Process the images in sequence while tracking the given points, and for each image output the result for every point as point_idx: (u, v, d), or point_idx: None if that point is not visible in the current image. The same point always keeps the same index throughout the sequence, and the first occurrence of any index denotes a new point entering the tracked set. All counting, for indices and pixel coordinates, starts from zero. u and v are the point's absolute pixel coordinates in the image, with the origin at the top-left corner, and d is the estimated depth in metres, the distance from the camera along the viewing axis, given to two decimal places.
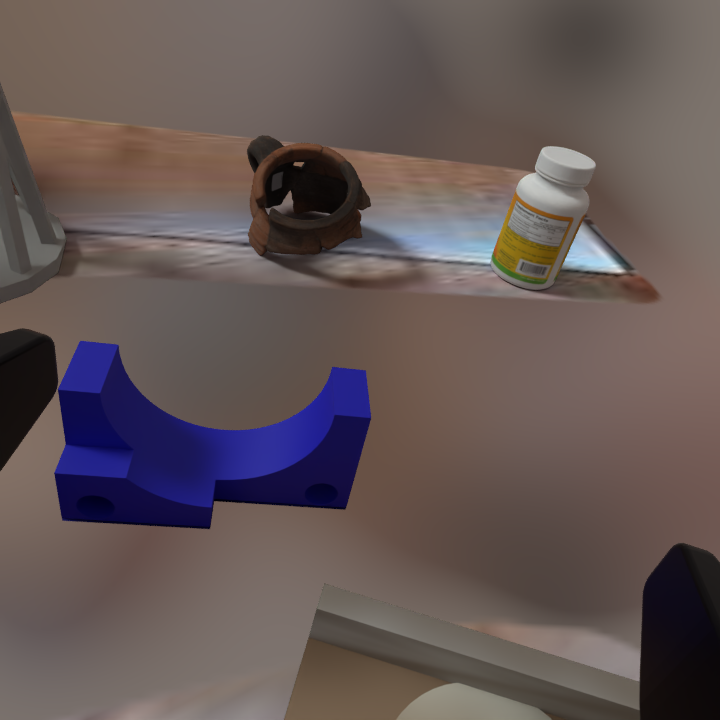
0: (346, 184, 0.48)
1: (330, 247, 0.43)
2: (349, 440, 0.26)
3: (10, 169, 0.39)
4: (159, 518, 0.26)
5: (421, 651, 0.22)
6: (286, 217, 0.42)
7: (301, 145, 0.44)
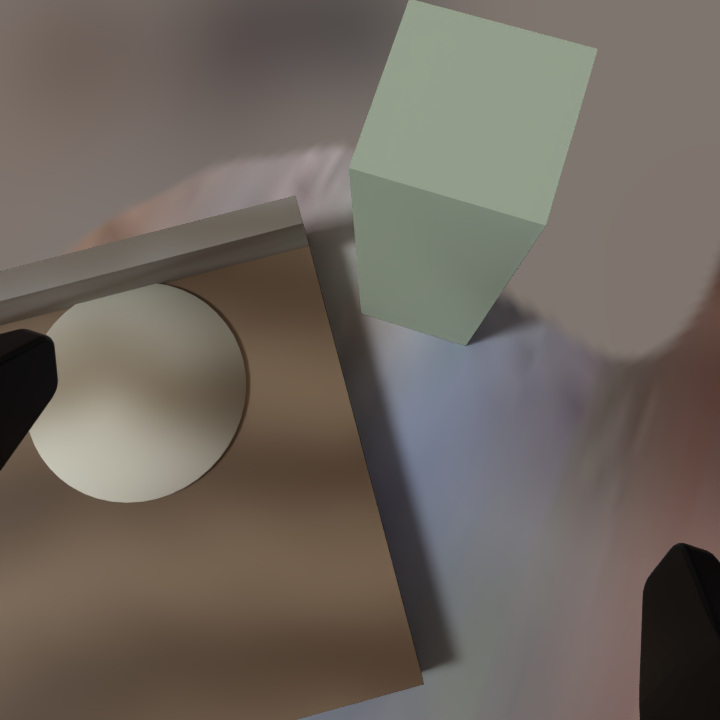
0: None
1: None
2: None
3: None
4: None
5: (7, 306, 0.21)
6: None
7: None
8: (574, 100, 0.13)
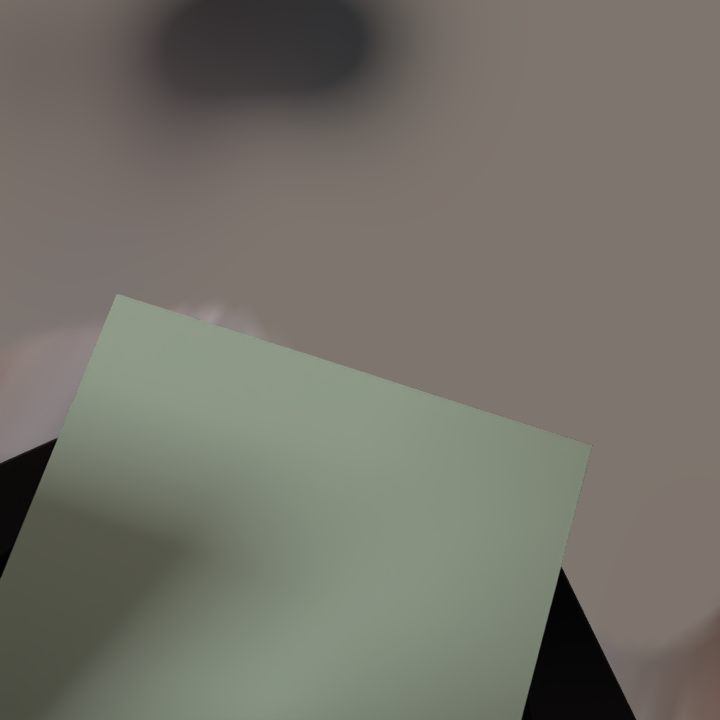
0: None
1: None
2: None
3: None
4: None
5: None
6: None
7: None
8: (531, 599, 0.05)
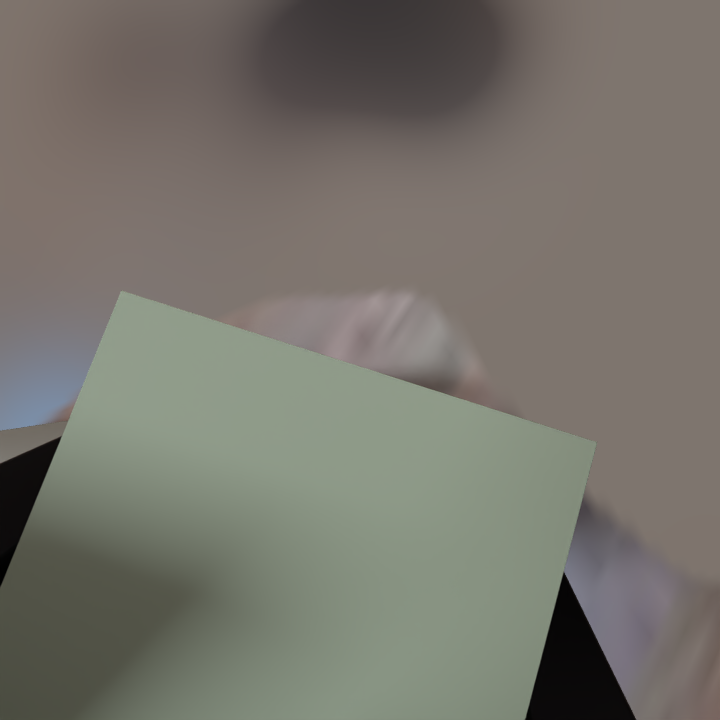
0: None
1: None
2: None
3: None
4: None
5: None
6: None
7: None
8: (536, 597, 0.05)
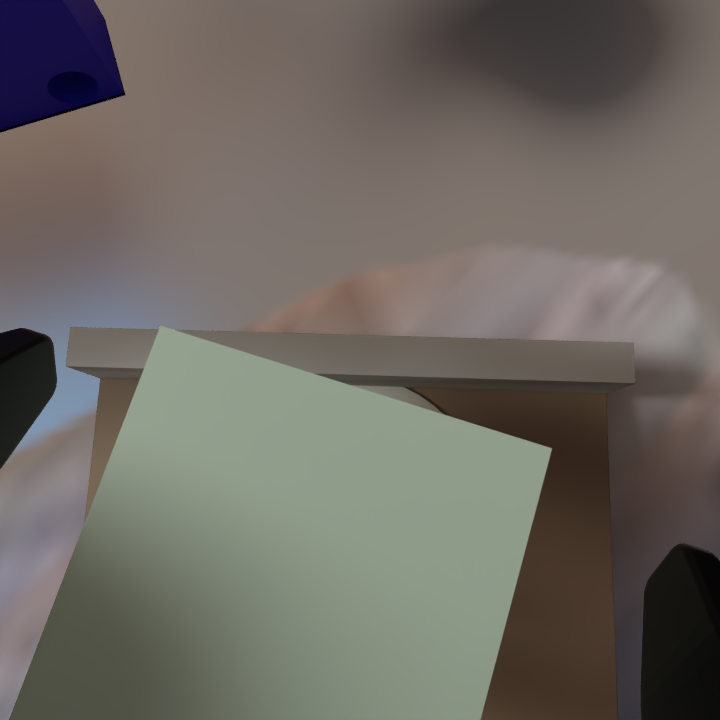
0: None
1: None
2: None
3: None
4: None
5: None
6: None
7: None
8: (502, 575, 0.06)
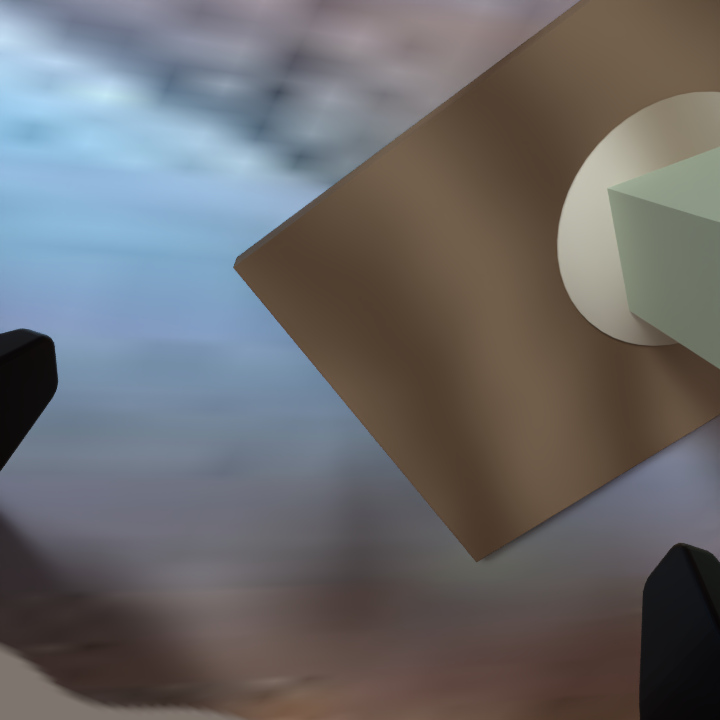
0: None
1: None
2: None
3: None
4: None
5: None
6: None
7: None
8: None
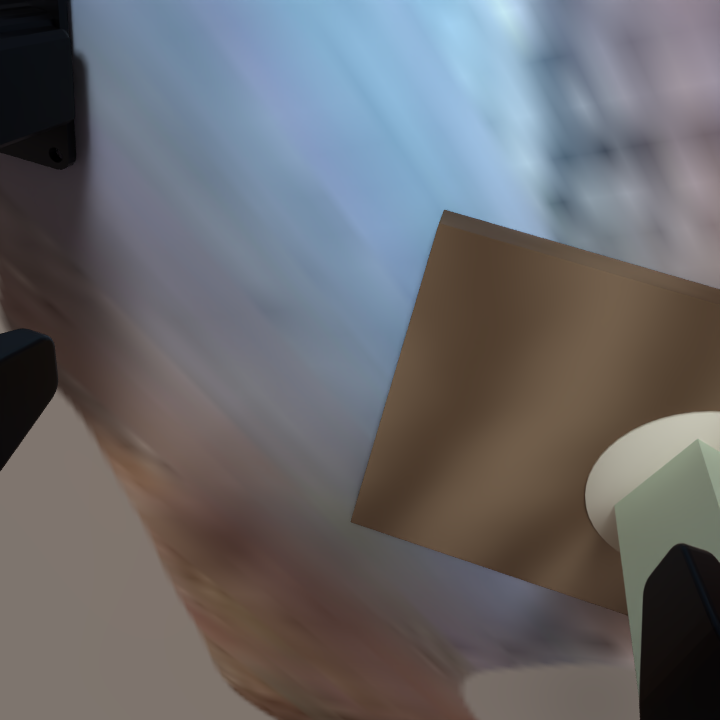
0: None
1: None
2: None
3: None
4: None
5: None
6: None
7: None
8: None
